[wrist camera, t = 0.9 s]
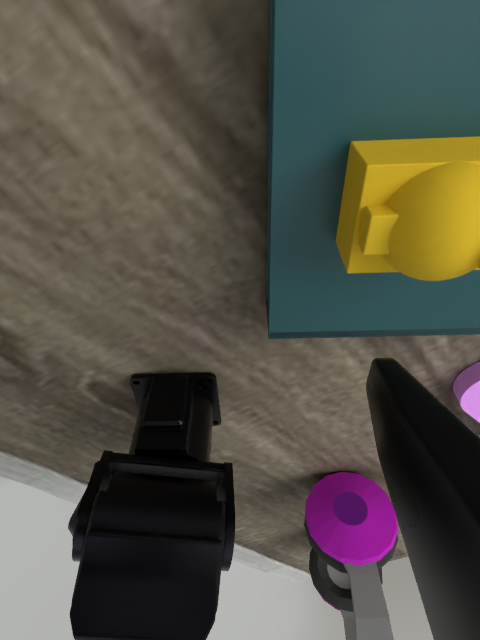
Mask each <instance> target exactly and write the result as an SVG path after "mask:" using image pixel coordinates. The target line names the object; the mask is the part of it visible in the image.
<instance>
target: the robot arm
mask: <svg viewBox="0 0 480 640" xmlns="http://www.w3.org/2000/svg"><path fill="white" fill-rule="evenodd" d="M130 384H131V387H132V390H133V392H134V395H135V398H136V400H137V403H138V406H139V408H140V409H139V413H138V417H137V421H136V425H135V430H134V434H133V438H132V442H131V446H130V450H129V454H123V453H113V451H107V450H104V452H103V454H102V457H101V459H100V461H98V462H96V463H95V465H94V469H93V472H92V475H91V478H90V481H89V484H88V486H87V489H86V491H85V493H84V495H83V496H82V498H81V500H80V502H79V504H78V506H77V508H76V509H75V511H74V513H73V515H72V517H71V519H70V522H69V526H68V529H69V530H70V532H71V534H72V536H73V549H72V558H73V561H80V565H79V569H78V574H77V579H76V583H75V588H74V593H73V598H72V606H71V610H70V619H71V625H72V631H73V636H74V639H75V640H206V638H207V636H208V634H209V632H210V630H211V628H212V626H213V624H214V621H215V614H216V611H217V606H218V595H219V585H220V574H221V571H228V570H229V568H230V565H231V561H232V556H233V548H234V538H235V504H234V486H233V467H232V463H227V462H224V464H223V463H213V462H210V450H211V436H212V426H216V425H220V424H221V412H220V404H219V397H218V389H217V381H216V376H215V375H214V374H212V373H182V374H135V375H132V376H131V379H130ZM366 391H367V397H368V402H369V408H370V413H371V419H372V425H373V430H374V436H375V441H376V446H377V451H378V456H379V460H380V463H381V467H382V470H383V474H384V477H385V480H386V483H387V487H388V490H389V493H390V497H391V500H392V503H393V507H394V510H395V513H396V516H397V520H398V523H399V526H400V530H401V533H402V536H403V539H404V543H405V546H406V549H407V553H408V556H409V559H410V562H411V566H412V569H413V572H414V575H415V579H416V582H417V585H418V589H419V592H420V595H421V599H422V602H423V605H424V609H425V612H426V615H427V618H428V622H429V625H430V628H431V631H432V635H433V638H434V640H480V439H479V438H478V437H477V436H476V435H475V434H474V433H473V432H472V431H471V430H470V429H469V428H467V427H466V426H465V425H464V424H463V423H462V422H461V421H460V420H459V419H458V418H457V417H456V416H455V415H454V414H453V413H451V412H450V411H449V410H448V409H447V408H446V407H445V406H444V405H443V404H442V403H441V402H440V401H439V400H438V399H437V398H435V397H434V396H433V395H432V394H431V393H430V392H429V391H428V390H427V389H426V388H425V387H424V386H423V385H422V384H421V383H420V382H418V381H417V380H416V379H415V378H414V377H413V376H412V375H411V374H410V373H409V372H408V371H407V370H406V369H405V368H404V367H402V366H401V365H400V364H399V363H398V362H397V361H396V360H395V359H393V358H376V359H374V360H373V361H372V364H371V368H370V371H369V375H368V379H367V383H366Z"/></svg>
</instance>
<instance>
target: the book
mask: <svg viewBox="0 0 480 640" xmlns="http://www.w3.org/2000/svg"><path fill="white" fill-rule="evenodd" d="M477 136H480V0H270V18H269V106H268V195H267V283H266V309H267V323H268V338H269V339H289V338H335V337H380V336H426V335H471V334H480V270H472V271H470V272H469V273H466V274H464V275H462V276H459V277H456V278H453V279H448V280H442V281H424V280H418V279H415V278H411V277H408V276H406V275H404V274H402V273H400V272H384V273H347V272H346V269H345V266H344V264H343V261H342V258H341V255H340V252H339V249H338V247H337V244H336V235H337V228H338V222H339V215H340V208H341V202H342V195H343V188H344V182H345V175H346V168H347V162H348V155H349V149H350V143H351V142H352V141H372V140H398V139H424V138H450V137H477Z"/></svg>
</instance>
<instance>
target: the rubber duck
mask: <svg viewBox="0 0 480 640" xmlns="http://www.w3.org/2000/svg"><path fill="white" fill-rule="evenodd" d="M336 244H337V247H338V249H339V252H340V255H341V258H342V261H343V264H344V266H345V269H346V272H347V273H384V272H400V273H402V274H404V275H406V276H408V277H411V278H415V279H418V280H424V281H442V280H448V279H453V278H456V277H459V276H462V275H464V274H466V273H469V272H470V271H472V270H480V136H477V137H450V138H424V139H398V140H372V141H352V142H351V143H350V149H349V155H348V162H347V168H346V175H345V182H344V188H343V195H342V202H341V208H340V215H339V222H338V228H337V235H336Z"/></svg>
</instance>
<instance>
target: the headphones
mask: <svg viewBox="0 0 480 640" xmlns="http://www.w3.org/2000/svg"><path fill="white" fill-rule="evenodd" d="M304 526H305V529H306V532H307V536H308V539H309V542H310V545H311V546H312V550H311V552H310V561H309V570H310V574H311V577H312V581H313V584H314V586H315V588H316V589H317V591H318V592H319V594H320V595H321V596H322V598H323V599H324V601H326V602H327V603H329V604H330V605H331V606H333V607H334V608H336V609H338V610H340V611H341V613H342V616H343V618H344V627H345V635H346V640H394V639H393V634H392V629H391V624H390V619H389V614H388V611H387V606H386V602H385V598H384V594H383V590H382V586H381V585H382V567H383V566H384V565H385V564H386V563H387V562H388V561H389V560H390V559H391V558H392V556H393V553H394V550H395V547H396V544H397V541H398V523H397V516H396V513H395V510H394V507H393V505H392V503H391V501H390V499H389V497H388V495H387V493H386V492H385V491H383V490H382V489H381V488H380V487H379V486H378V485H377V484H376V483H375V482H374V481H372V480H370V479H368V478H366V477H364V476H362V475H360V474H357V473H348V472H339V473H335V474H331V475H327V476H326V477H324V478H323V479H322V480H320V481H319V482H318V483H316V484H315V485H314V487H313V489H312V490H311V492H310V494H309V496H308V498H307V500H306V509H305V523H304Z"/></svg>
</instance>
